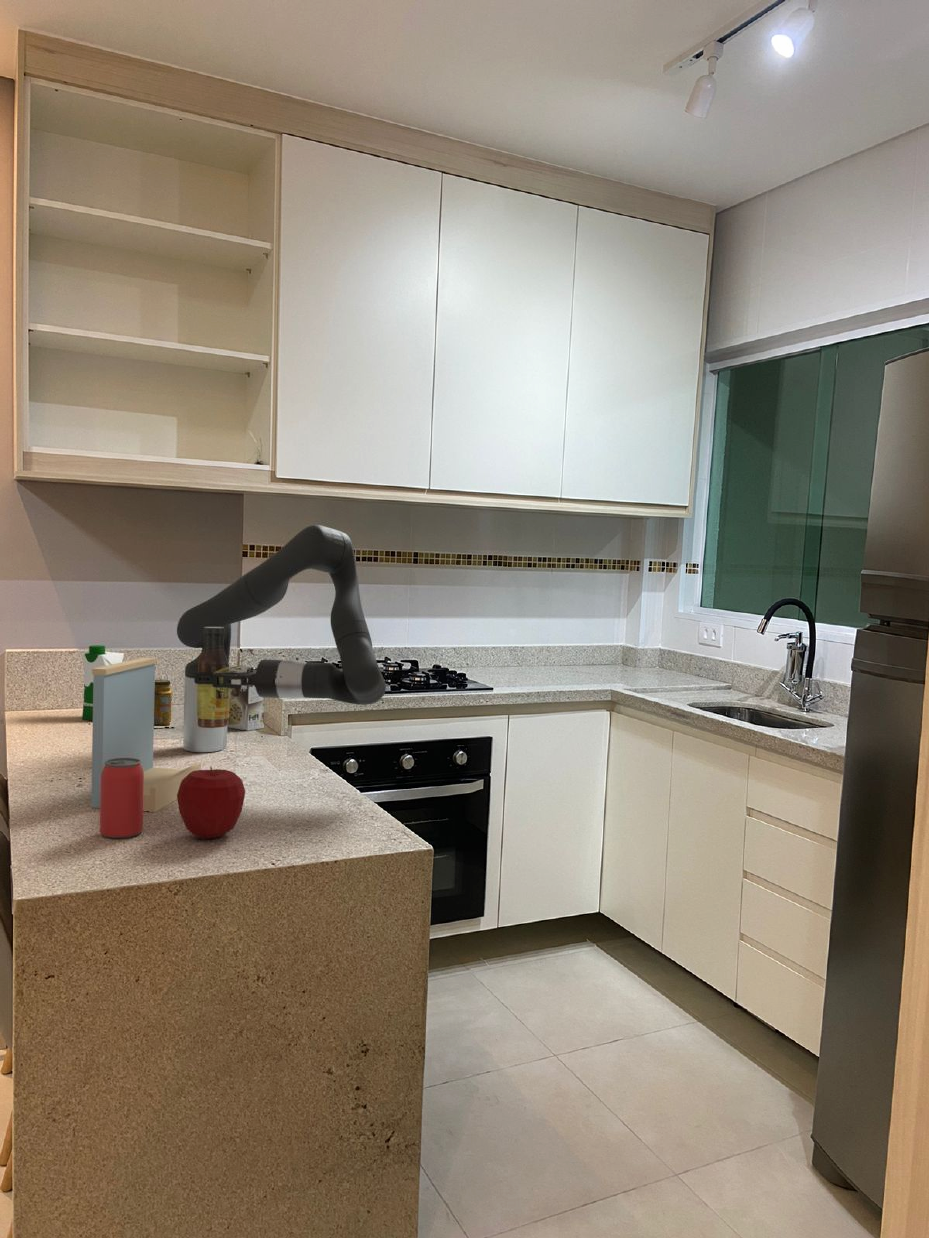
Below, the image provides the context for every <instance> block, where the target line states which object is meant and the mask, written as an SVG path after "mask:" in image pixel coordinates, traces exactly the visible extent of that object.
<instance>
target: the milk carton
mask: <svg viewBox="0 0 929 1238" xmlns="http://www.w3.org/2000/svg"><path fill="white" fill-rule="evenodd" d="M124 656H125V653H121V652H113V651H106V645H98V644H97V645H95V644H94V645H89V646H88V652H81V658H82V663H83V664H82V665H83V672H84V673H83V705H82V706H83V707H82V716H81V720H84V721H90V722H91V721H92V722H93V679H94V674H92V669H93V668H97V667H102V666H107V665H111V664H116V663H121V662H123V660H124Z"/></svg>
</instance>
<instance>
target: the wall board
mask: <svg viewBox="0 0 929 1238" xmlns="http://www.w3.org/2000/svg"><path fill="white" fill-rule="evenodd" d="M157 661H158V658H157V657H141V658H135V659H131V660H127V661H122V662H121V663H116V664H111V665H107V666H102V667H97V668H93V669H92V674H94V679H93V721H92V733H91V734H92V739H91V740H92V743H91V744H92V745H91V750H92V751H91V791H90V792H91V800H90V804H91V805H90V808H95V809H100V794H101V773H102V770H103V768H104V766H105V764H104V763H105V761H107V760H110V759H115V758H135V759H139V760H140V761H141V763H140V764H141V766H142V769H143V772H144V793H143V811H149V812H148V813H157V812H158V811H160V810H162V809H164V808H165V807H167V806H168V805H171V804H172V803H173V801H174V802H175V801H178V799H177V793H178V790H179V787H180V784H181V781H182V780H183V779H184V778H185V777H186V776H187V775H188V774H189V773H191V772H192V771H196V770H202V763H198V762H195V763H193V764H192V765H190V766H188V767H186V768H184V769H179V768H166V767H165V768H164V767H154V736H155V735H154V734H155V733H154V732H155V730H154V695H155V680H156V664H157V663H158V662H157Z"/></svg>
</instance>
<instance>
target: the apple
mask: <svg viewBox="0 0 929 1238" xmlns="http://www.w3.org/2000/svg"><path fill="white" fill-rule="evenodd" d="M209 768H210V769H201V770H196V771H192V772H191V773H189V774H188V775H187V776H186V777H185V778H184V779H183V780H182V781H181V784H180V787H179V790H178V793H177V805H178V811H179V814H180V817H181V818H182V821H183V823H184V826H185V828H186V830H187V831H188V832H190V833H191V834H192V835H193V836H195V837H196V838H198V837H199V838H212V839H216V837H217V838H221V837H222V835H223V836H224V835H226V834H227V833H228V832H230V831H231V830H233V829H234V828H235V826H236V824H237V822H238V820H239V818H240V816H241V814H242V812H243V806H244V802H245V801H244V800H245V796H246V789H245V786H244V783H243V782H244V781H243V779H242V778H241V777H240V776H238V775H237V773H235V772H233V771H231V770H227V769H217V768H215V769H213V768H212V766H210V767H209ZM220 836H221V837H220ZM199 838H198V839H199Z"/></svg>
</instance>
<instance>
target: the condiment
mask: <svg viewBox="0 0 929 1238" xmlns="http://www.w3.org/2000/svg"><path fill="white" fill-rule="evenodd" d="M172 692H173V691H172V690H171V681H170V680H168V679H155V695H154V726H169V725H170V722H171V723H172V698H173V697H172V695H173V693H172ZM172 725H173V724H172ZM173 726H175V725H173Z"/></svg>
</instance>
